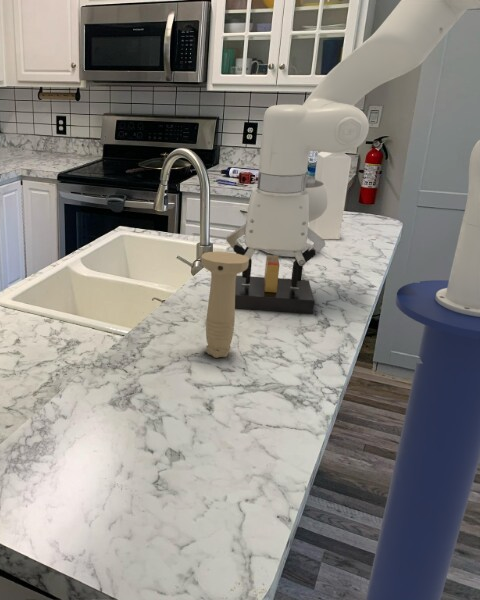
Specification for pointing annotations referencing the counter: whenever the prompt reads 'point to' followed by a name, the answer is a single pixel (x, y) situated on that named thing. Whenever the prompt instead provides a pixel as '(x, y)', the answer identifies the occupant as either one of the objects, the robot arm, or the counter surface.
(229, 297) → the handle
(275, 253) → the chalice
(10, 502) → the counter surface
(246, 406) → the counter surface
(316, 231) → the milk
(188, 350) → the counter surface
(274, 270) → the tan square block
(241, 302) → the plate
